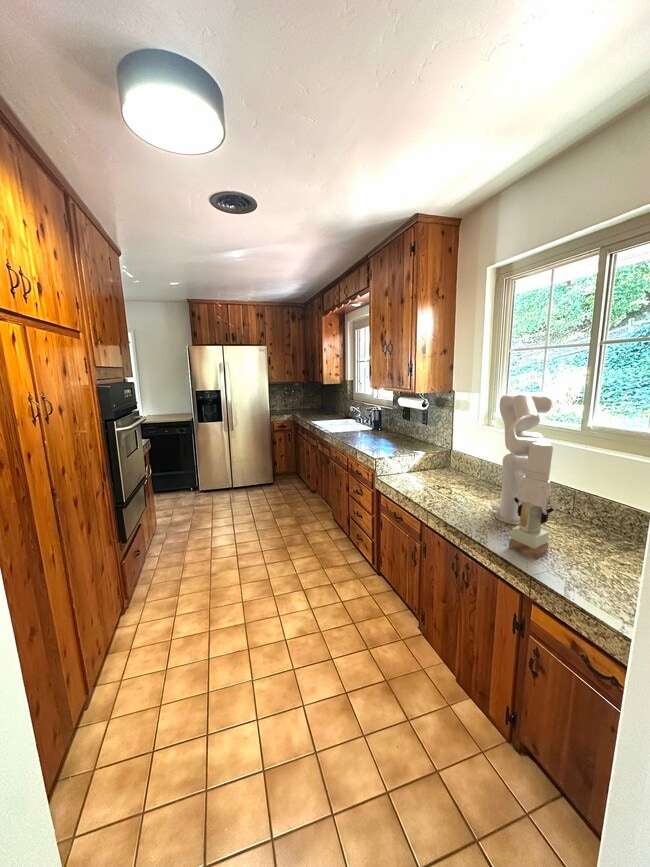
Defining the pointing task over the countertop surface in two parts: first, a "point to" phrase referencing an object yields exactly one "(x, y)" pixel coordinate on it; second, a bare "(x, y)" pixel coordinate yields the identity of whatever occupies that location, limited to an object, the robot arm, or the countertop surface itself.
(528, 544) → the tower top
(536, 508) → the skincare box
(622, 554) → the countertop surface
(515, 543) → the tower bottom
